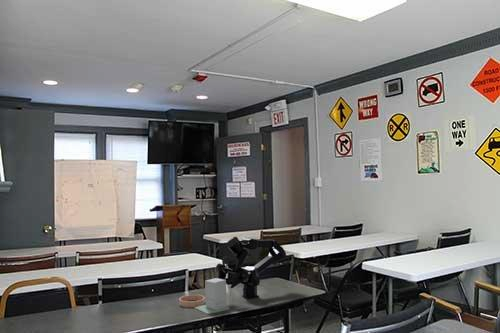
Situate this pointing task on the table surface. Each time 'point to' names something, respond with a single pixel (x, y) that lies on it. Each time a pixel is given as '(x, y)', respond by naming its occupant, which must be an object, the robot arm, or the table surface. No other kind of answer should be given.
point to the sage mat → (208, 310)
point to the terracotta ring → (186, 303)
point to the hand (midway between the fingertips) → (224, 286)
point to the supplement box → (215, 293)
